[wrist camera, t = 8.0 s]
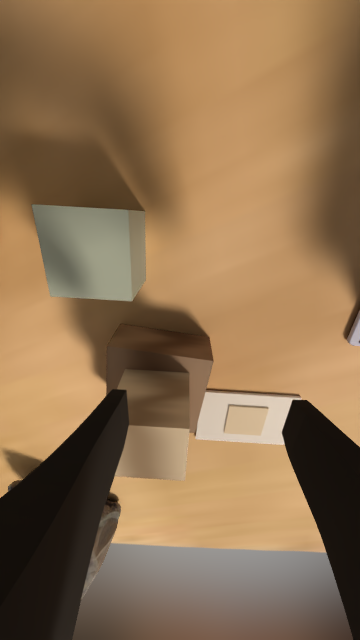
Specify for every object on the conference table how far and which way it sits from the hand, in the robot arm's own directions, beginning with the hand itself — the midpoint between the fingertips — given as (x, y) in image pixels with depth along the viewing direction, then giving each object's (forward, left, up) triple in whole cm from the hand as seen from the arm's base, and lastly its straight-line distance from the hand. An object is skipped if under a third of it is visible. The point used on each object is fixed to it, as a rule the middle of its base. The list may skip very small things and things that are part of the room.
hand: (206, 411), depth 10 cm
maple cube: (+3, +6, -7) cm, 9 cm away
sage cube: (+7, -5, -10) cm, 14 cm away
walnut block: (+3, +6, -11) cm, 13 cm away
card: (-6, +12, -10) cm, 17 cm away
